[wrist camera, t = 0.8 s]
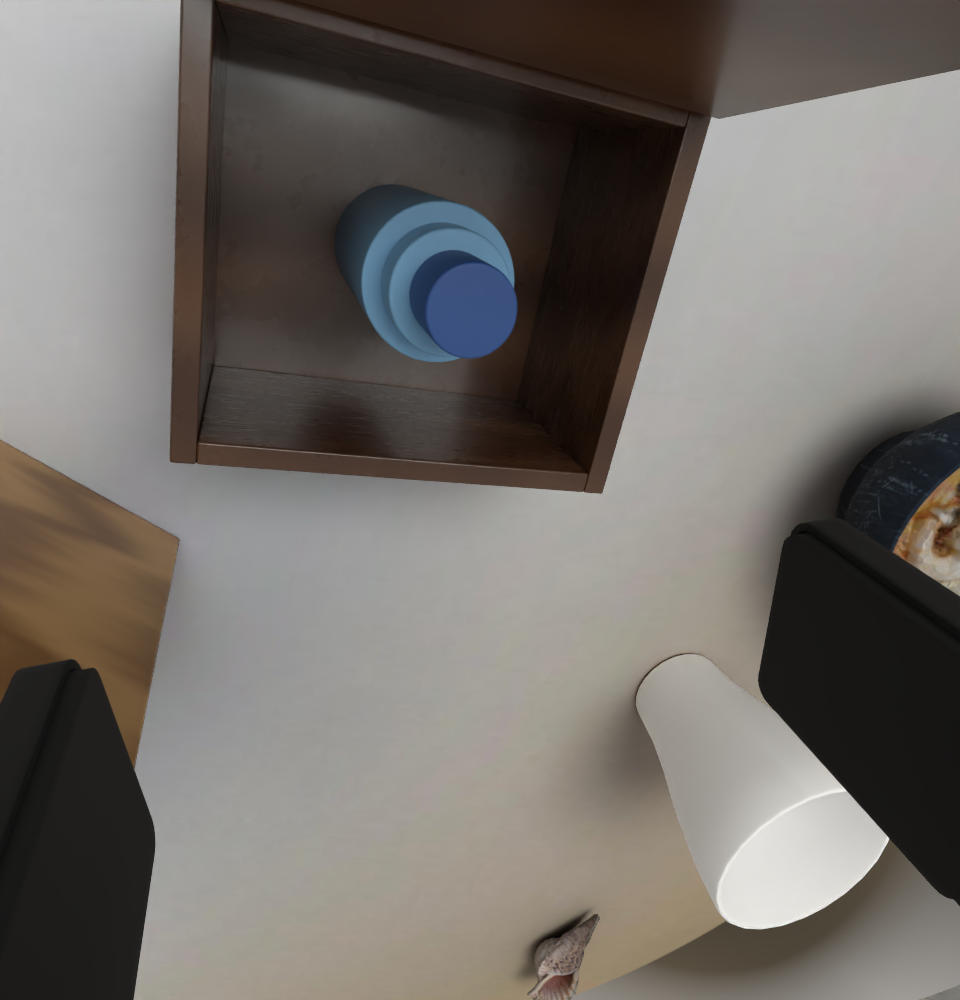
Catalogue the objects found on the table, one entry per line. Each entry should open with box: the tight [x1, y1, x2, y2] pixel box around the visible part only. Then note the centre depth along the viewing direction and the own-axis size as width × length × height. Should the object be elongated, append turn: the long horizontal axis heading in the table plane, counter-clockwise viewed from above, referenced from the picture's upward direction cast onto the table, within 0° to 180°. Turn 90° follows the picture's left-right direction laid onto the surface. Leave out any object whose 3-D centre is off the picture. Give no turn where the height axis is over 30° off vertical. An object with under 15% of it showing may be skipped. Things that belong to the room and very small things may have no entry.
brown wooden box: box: [170, 0, 711, 494], centre depth 27 cm, size 14×16×10 cm
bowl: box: [838, 412, 960, 596], centre depth 42 cm, size 17×17×10 cm
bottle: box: [335, 184, 517, 362], centre depth 25 cm, size 5×5×13 cm
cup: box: [636, 654, 889, 929], centre depth 43 cm, size 10×10×14 cm
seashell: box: [527, 914, 600, 1000], centre depth 56 cm, size 4×8×4 cm
